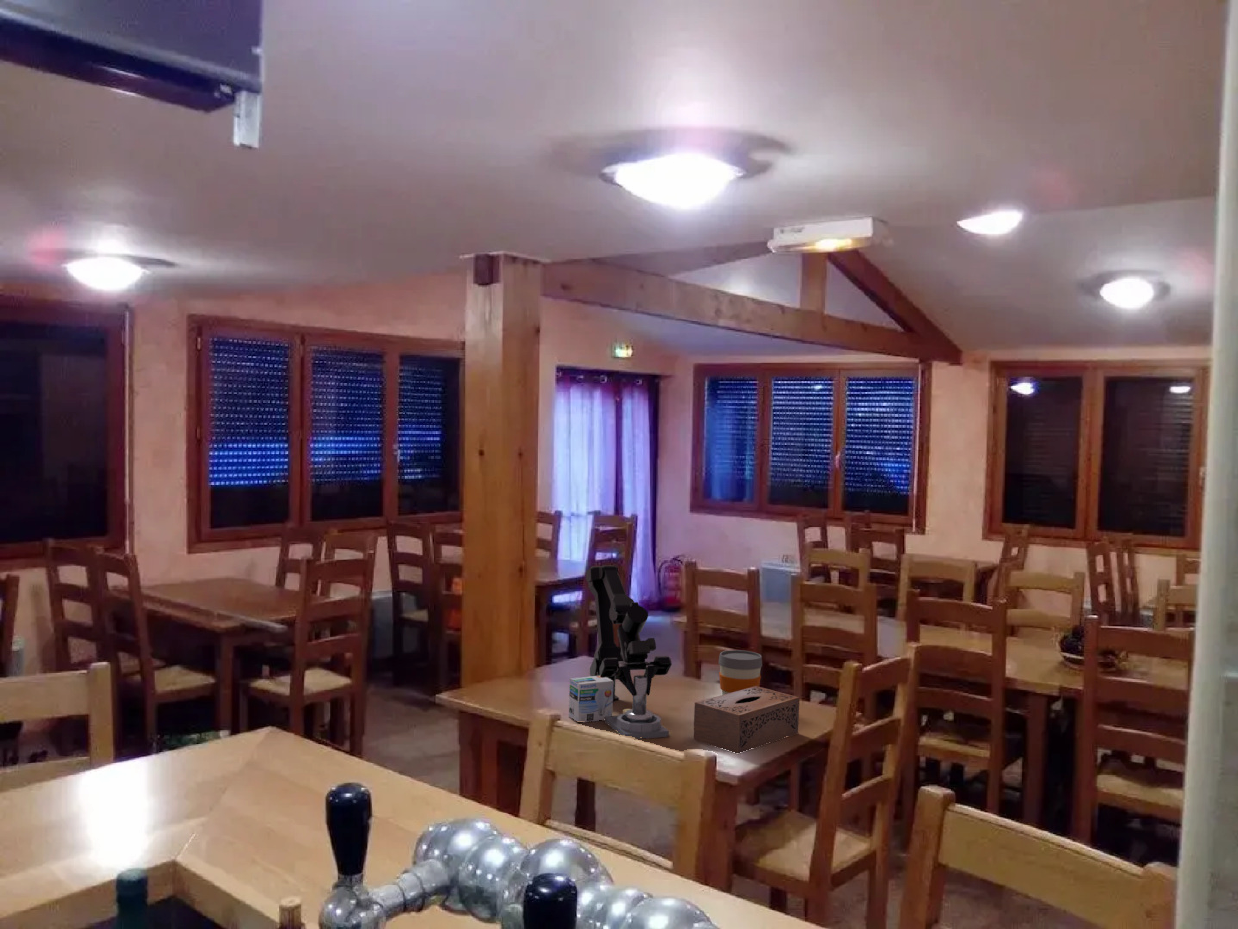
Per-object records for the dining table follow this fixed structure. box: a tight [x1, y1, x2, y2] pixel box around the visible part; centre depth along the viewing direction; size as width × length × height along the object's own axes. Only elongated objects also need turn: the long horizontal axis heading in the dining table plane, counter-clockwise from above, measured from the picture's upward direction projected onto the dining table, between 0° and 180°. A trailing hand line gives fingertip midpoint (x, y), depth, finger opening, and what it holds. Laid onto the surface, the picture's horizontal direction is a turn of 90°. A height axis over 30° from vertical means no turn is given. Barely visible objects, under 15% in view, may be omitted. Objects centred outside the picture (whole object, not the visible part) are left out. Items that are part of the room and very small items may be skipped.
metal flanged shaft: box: [626, 674, 653, 722], centre depth 265 cm, size 7×7×11 cm
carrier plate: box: [603, 708, 670, 740], centre depth 267 cm, size 16×12×4 cm
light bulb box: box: [568, 675, 614, 723], centre depth 275 cm, size 11×7×11 cm, turn 117°
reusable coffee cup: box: [718, 649, 763, 695], centre depth 292 cm, size 13×12×15 cm
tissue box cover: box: [692, 686, 800, 754], centre depth 264 cm, size 26×14×10 cm, turn 135°
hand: (641, 695), depth 263 cm, fingers closed on metal flanged shaft, 4 cm apart
